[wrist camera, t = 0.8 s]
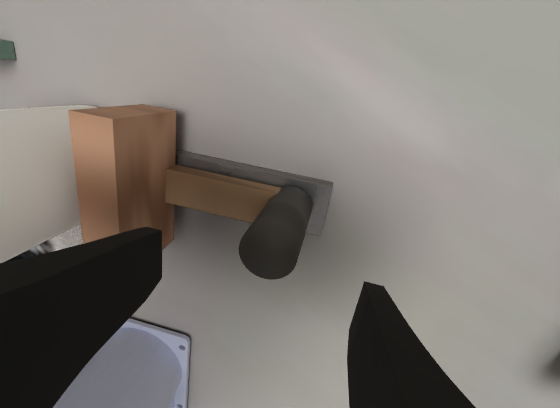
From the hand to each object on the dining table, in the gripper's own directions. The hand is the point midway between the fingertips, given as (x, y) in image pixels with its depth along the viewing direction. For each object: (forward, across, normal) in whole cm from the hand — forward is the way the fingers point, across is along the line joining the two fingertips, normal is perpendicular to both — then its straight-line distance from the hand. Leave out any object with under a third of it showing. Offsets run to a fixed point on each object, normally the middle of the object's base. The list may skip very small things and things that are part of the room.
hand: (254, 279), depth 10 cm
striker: (+7, +4, 0) cm, 8 cm away
